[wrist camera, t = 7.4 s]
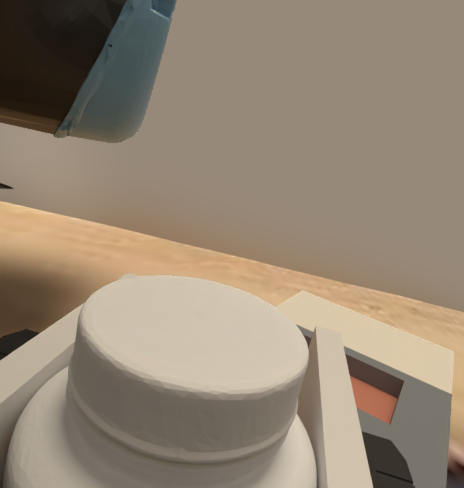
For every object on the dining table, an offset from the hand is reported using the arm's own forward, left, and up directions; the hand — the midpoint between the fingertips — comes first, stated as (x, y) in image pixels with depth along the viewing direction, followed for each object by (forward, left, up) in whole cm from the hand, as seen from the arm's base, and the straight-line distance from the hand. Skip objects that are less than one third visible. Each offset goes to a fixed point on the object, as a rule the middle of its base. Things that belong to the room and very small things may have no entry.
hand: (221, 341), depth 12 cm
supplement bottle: (+4, -4, -7) cm, 8 cm away
